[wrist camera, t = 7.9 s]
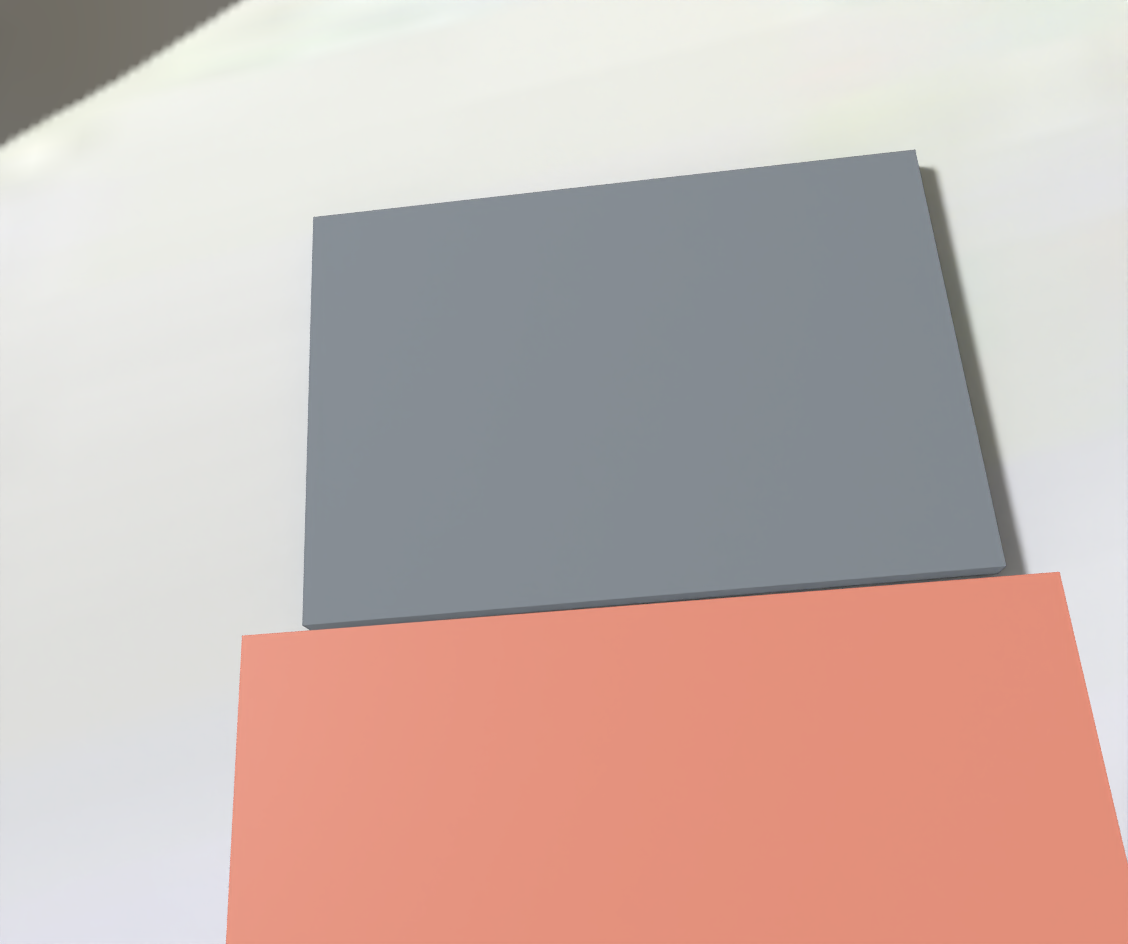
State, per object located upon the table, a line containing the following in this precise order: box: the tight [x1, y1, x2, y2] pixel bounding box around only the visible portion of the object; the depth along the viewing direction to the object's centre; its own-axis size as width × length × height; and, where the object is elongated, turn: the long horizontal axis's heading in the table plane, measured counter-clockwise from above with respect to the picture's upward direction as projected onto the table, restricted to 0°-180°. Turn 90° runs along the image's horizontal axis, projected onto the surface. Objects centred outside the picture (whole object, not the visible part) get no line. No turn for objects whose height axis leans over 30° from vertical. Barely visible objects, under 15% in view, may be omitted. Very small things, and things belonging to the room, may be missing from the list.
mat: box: [302, 150, 1006, 630], centre depth 32 cm, size 20×14×1 cm
